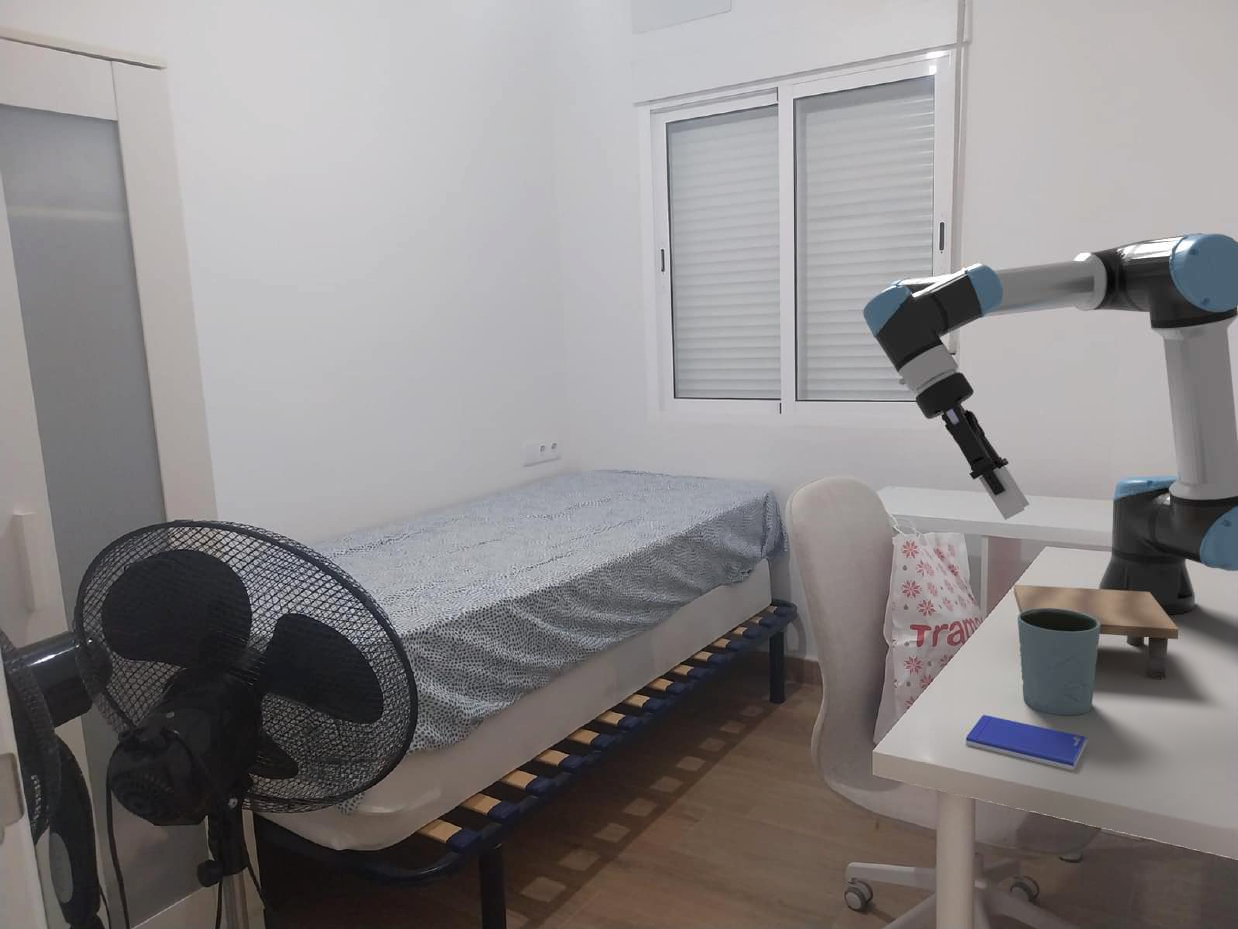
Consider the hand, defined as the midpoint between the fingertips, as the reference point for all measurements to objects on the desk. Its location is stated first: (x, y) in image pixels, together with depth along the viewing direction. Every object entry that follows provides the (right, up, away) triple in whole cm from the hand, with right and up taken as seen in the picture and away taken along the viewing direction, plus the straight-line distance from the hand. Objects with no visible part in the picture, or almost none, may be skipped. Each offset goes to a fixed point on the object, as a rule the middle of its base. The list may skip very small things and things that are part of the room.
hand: (1018, 512), depth 127 cm
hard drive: (-5, -29, -13) cm, 32 cm away
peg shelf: (+17, -23, +15) cm, 33 cm away
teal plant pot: (+4, -26, -1) cm, 27 cm away
